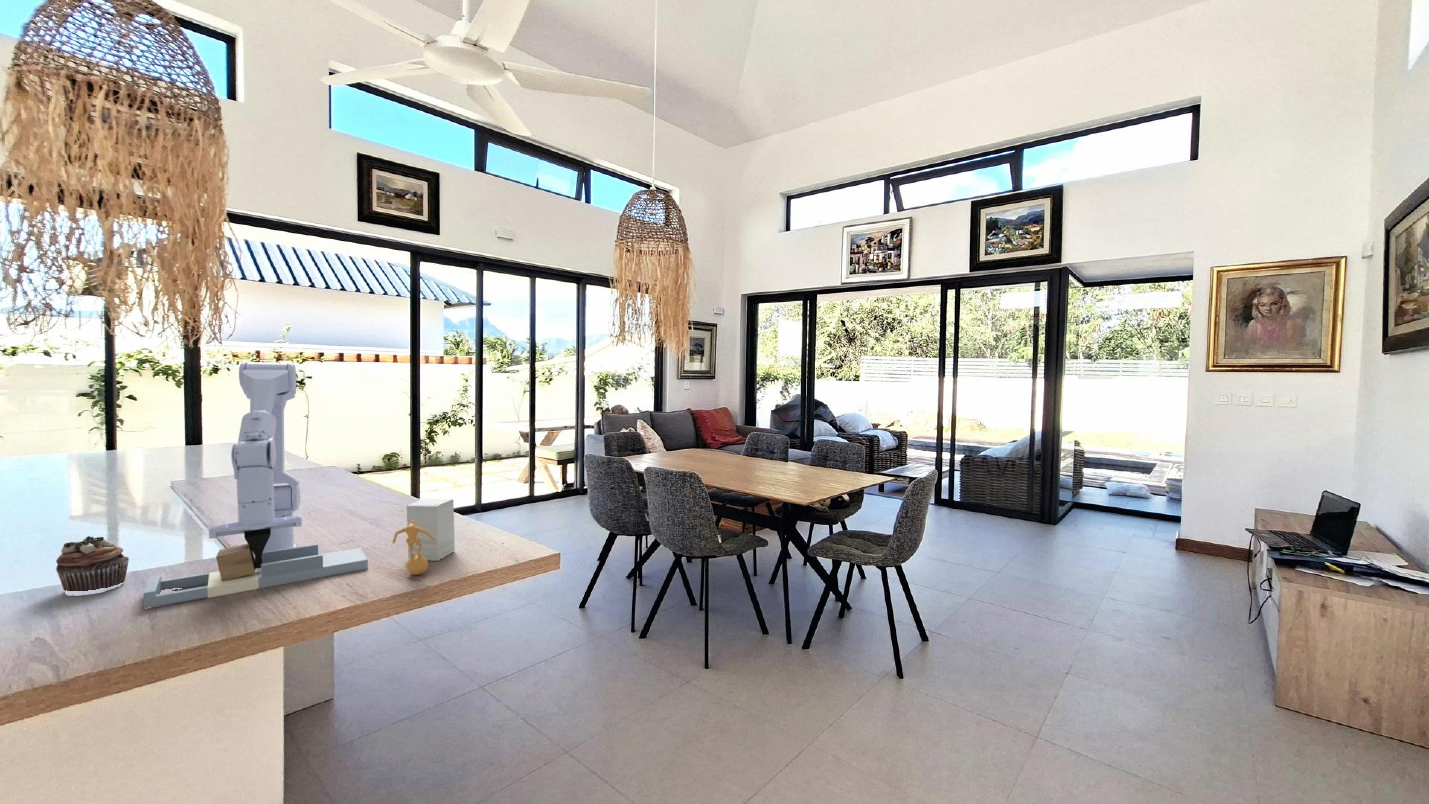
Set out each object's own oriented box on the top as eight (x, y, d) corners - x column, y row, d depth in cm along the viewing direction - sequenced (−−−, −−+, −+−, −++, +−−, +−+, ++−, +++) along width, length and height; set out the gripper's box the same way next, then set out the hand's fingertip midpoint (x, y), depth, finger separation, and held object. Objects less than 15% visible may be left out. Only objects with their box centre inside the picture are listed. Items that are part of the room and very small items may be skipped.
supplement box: (455, 551, 137) (455, 498, 137) (437, 561, 130) (436, 506, 129) (426, 550, 138) (425, 497, 137) (406, 560, 131) (405, 504, 130)
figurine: (441, 570, 125) (440, 515, 124) (431, 580, 119) (430, 522, 118) (400, 571, 123) (399, 516, 123) (388, 582, 117) (387, 523, 117)
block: (224, 573, 116) (219, 549, 115) (256, 565, 118) (251, 542, 118) (221, 581, 112) (216, 556, 111) (254, 573, 114) (249, 549, 114)
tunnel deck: (150, 592, 111) (149, 569, 111) (360, 556, 133) (359, 537, 132) (144, 609, 103) (143, 584, 103) (367, 568, 125) (367, 548, 125)
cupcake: (103, 596, 109) (101, 544, 108) (41, 600, 107) (38, 546, 106) (143, 578, 118) (141, 529, 117) (87, 581, 116) (84, 531, 116)
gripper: (207, 509, 108) (210, 580, 109) (302, 498, 118) (304, 564, 118) (208, 502, 114) (211, 570, 115) (299, 492, 123) (301, 556, 124)
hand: (258, 567), depth 117 cm, fingers closed, pressing on block
